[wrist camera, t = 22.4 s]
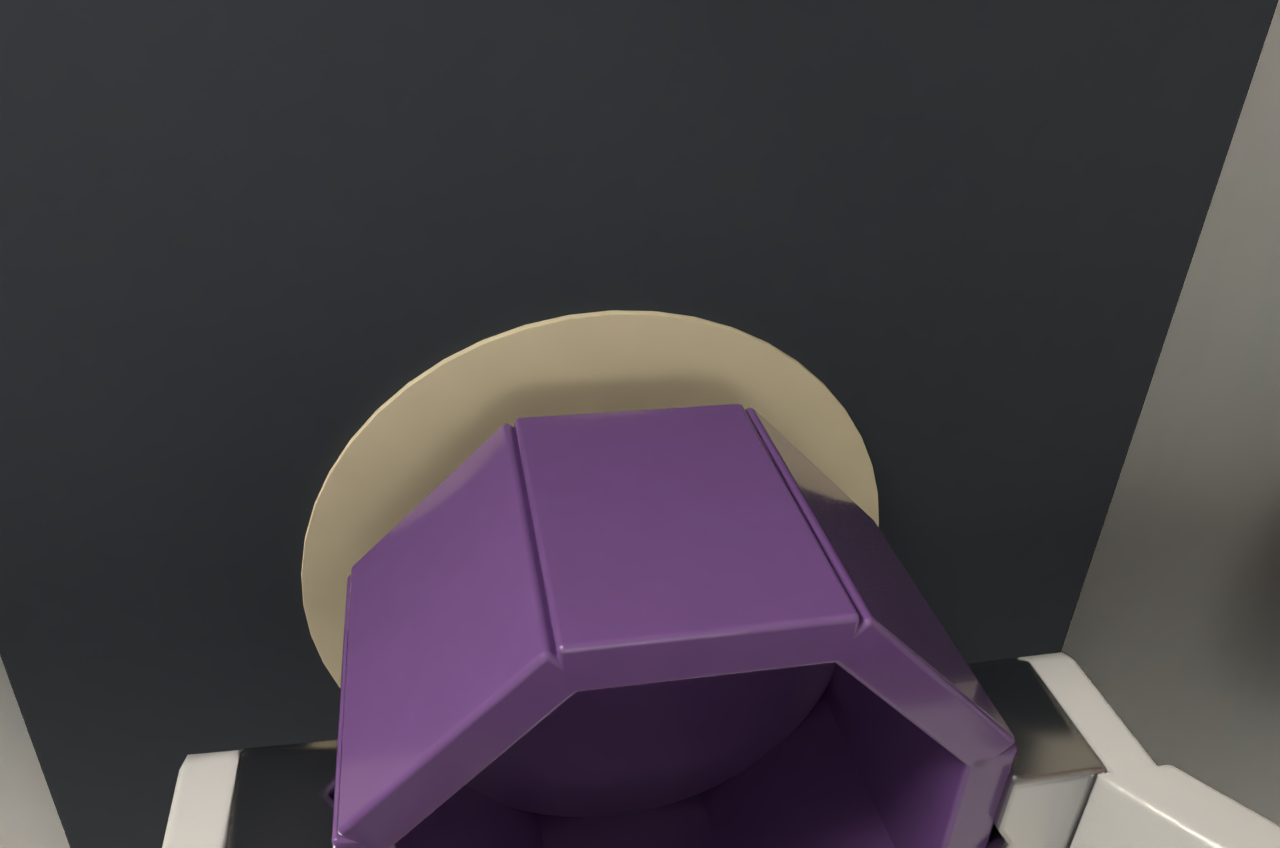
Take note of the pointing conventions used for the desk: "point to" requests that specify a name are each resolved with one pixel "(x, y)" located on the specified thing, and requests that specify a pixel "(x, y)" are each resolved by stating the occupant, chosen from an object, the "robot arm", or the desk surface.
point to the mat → (551, 303)
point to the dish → (653, 656)
